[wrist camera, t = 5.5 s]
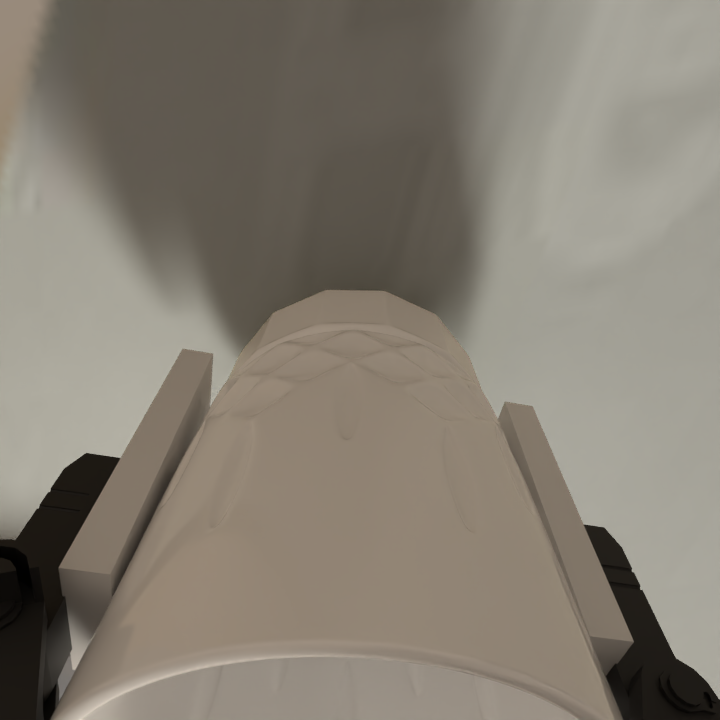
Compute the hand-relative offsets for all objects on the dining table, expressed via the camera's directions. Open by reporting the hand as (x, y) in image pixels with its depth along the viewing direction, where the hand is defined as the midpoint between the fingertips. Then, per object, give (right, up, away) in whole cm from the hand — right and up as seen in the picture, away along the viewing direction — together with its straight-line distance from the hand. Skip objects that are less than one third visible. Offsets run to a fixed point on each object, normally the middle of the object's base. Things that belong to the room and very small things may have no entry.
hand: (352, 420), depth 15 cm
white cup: (0, +1, +1) cm, 1 cm away
